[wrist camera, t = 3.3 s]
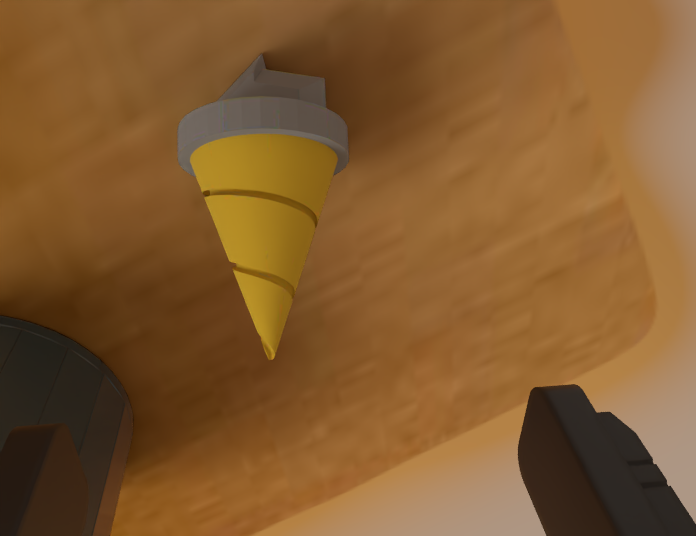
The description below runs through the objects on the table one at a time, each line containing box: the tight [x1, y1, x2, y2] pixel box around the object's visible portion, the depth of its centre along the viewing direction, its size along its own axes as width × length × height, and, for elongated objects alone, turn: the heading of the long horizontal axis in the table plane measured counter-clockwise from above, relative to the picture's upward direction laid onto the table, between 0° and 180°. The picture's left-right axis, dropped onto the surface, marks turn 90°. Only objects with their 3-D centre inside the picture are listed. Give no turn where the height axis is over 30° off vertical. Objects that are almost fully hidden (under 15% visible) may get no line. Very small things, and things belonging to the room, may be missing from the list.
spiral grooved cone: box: [178, 53, 349, 360], centre depth 19 cm, size 5×5×10 cm
